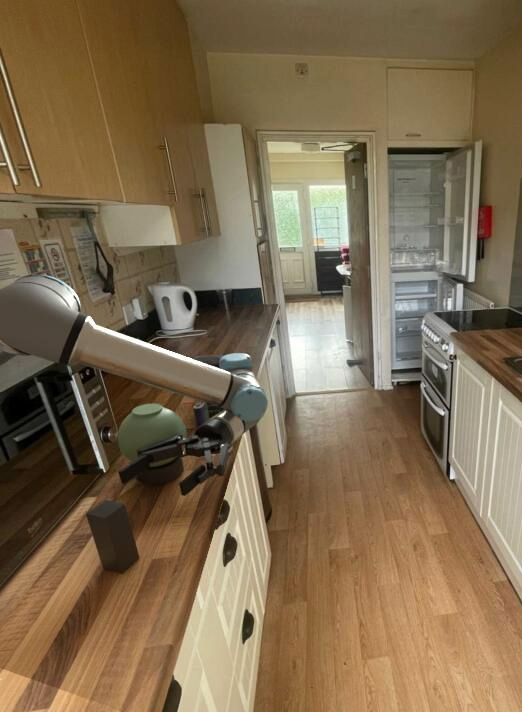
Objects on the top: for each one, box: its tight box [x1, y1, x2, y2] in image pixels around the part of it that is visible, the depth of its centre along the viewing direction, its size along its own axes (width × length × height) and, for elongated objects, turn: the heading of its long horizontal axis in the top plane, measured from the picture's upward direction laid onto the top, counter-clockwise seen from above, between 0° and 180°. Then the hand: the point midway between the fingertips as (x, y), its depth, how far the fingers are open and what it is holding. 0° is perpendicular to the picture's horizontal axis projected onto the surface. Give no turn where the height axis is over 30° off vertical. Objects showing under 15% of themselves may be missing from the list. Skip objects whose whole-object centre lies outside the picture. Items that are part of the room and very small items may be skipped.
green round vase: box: [117, 403, 188, 486], centre depth 99 cm, size 14×14×17 cm
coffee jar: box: [192, 354, 225, 415], centre depth 130 cm, size 10×8×19 cm
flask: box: [192, 400, 210, 429], centre depth 121 cm, size 9×3×11 cm, turn 14°
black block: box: [85, 499, 140, 575], centre depth 74 cm, size 4×4×12 cm
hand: (151, 483), depth 80 cm, fingers open, 13 cm apart
